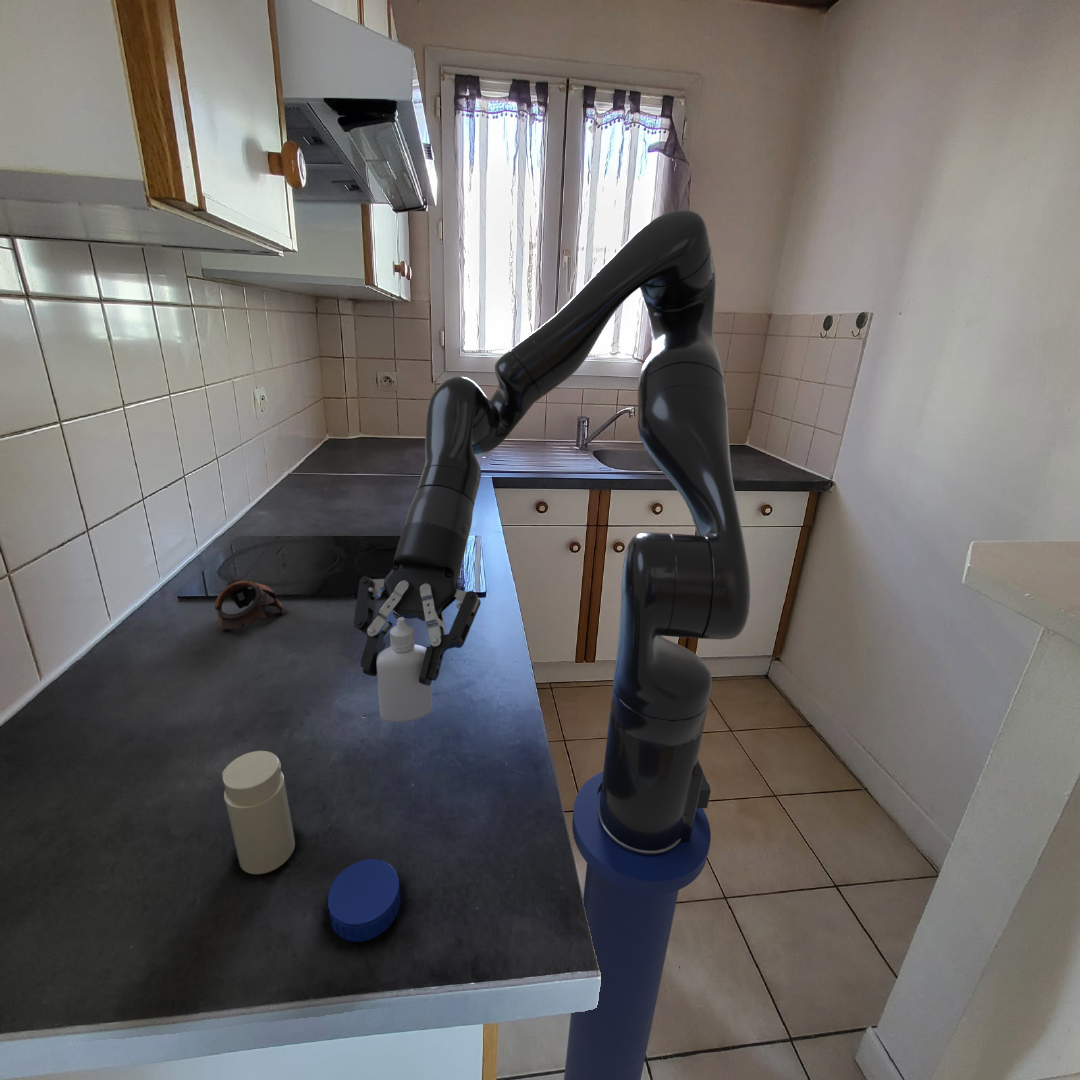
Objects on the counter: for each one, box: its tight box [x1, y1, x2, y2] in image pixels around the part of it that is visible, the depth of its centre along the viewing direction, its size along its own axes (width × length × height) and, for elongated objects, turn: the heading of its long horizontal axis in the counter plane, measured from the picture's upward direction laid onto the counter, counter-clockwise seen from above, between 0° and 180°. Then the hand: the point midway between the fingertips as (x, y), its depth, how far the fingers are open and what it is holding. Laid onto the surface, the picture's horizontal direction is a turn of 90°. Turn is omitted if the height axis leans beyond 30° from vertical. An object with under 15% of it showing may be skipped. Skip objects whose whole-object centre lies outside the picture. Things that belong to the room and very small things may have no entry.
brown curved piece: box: [214, 577, 285, 632], centre depth 93 cm, size 12×10×8 cm
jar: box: [221, 750, 296, 875], centre depth 53 cm, size 5×5×10 cm
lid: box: [327, 858, 402, 943], centre depth 49 cm, size 6×6×2 cm
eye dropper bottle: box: [376, 617, 433, 723], centre depth 60 cm, size 4×6×12 cm
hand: (396, 678), depth 59 cm, fingers closed on eye dropper bottle, 5 cm apart
